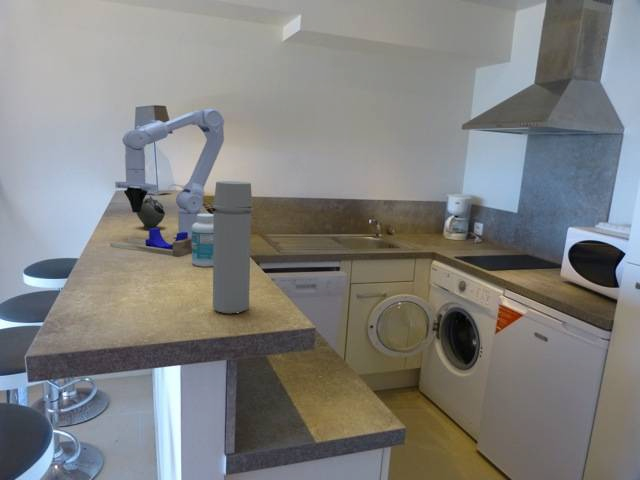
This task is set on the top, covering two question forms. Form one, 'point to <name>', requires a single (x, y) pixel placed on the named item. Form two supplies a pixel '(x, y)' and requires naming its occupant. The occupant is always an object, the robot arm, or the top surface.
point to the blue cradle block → (159, 242)
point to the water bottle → (231, 246)
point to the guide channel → (178, 248)
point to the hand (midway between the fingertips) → (136, 212)
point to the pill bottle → (202, 241)
